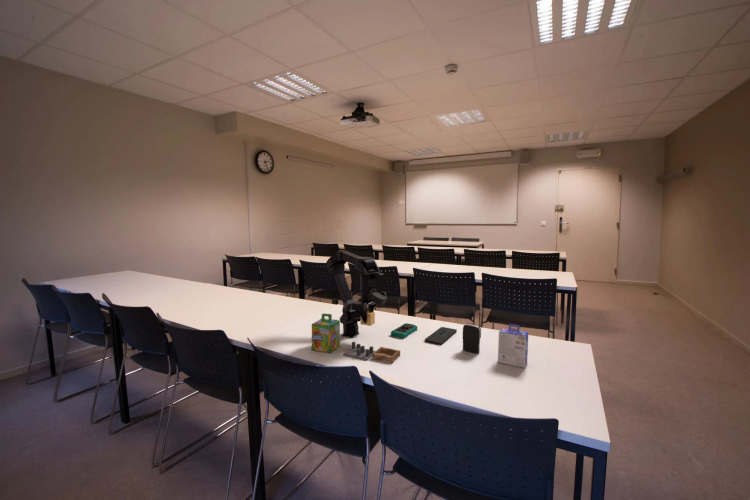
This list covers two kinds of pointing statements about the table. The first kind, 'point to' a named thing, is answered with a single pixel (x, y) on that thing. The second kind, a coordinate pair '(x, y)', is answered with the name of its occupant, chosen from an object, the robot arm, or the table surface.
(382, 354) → the brown square tray
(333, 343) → the chalk box
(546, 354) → the table surface
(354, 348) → the board
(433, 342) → the smart home device
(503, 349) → the ink cartridge box
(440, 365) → the table surface
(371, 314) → the tan cardboard cube
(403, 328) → the digital multimeter
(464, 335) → the battery charger
